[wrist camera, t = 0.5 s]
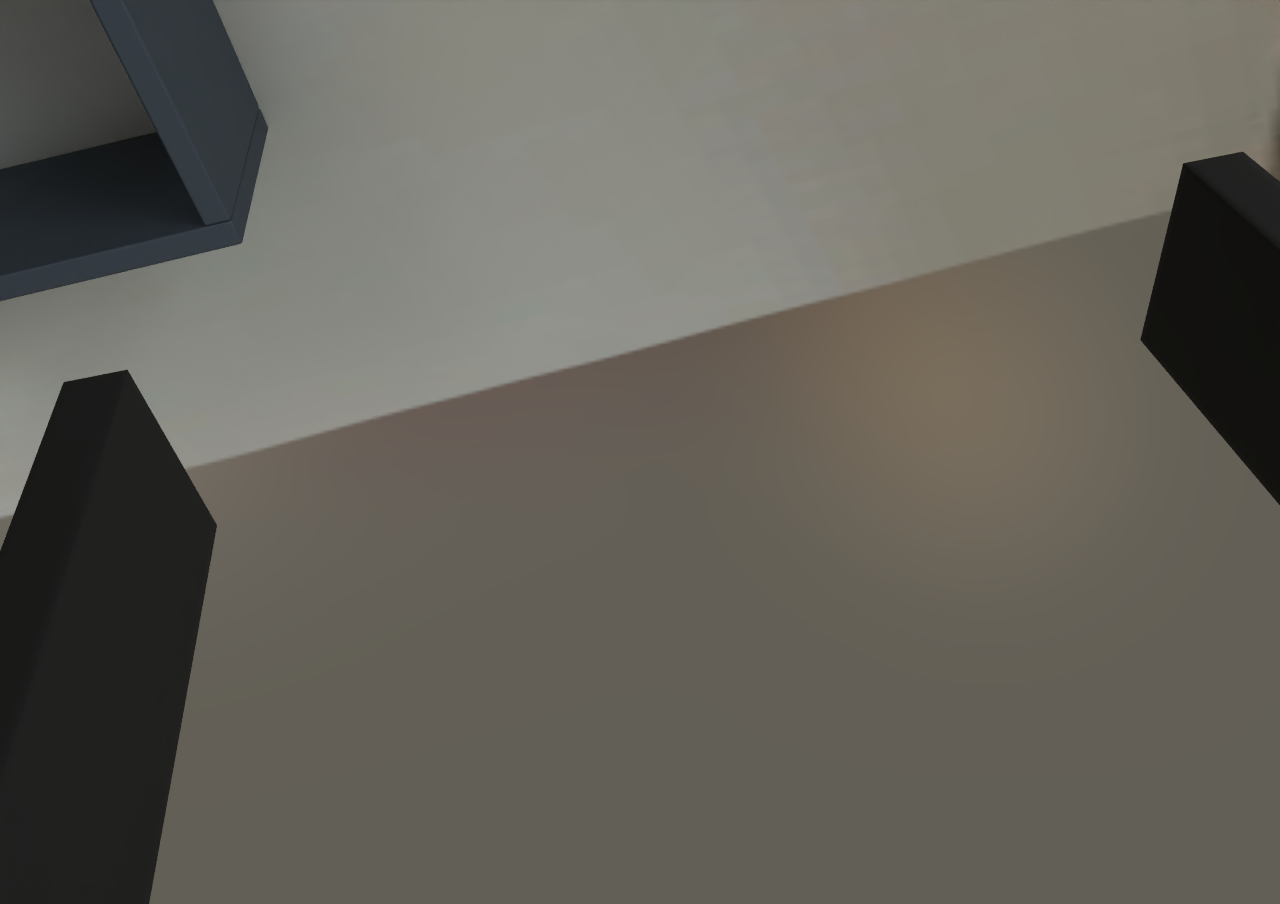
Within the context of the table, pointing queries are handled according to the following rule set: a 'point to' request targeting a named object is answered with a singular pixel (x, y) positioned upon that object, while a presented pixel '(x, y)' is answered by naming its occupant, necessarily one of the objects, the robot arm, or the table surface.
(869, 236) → the table surface
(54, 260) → the bin
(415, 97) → the table surface
